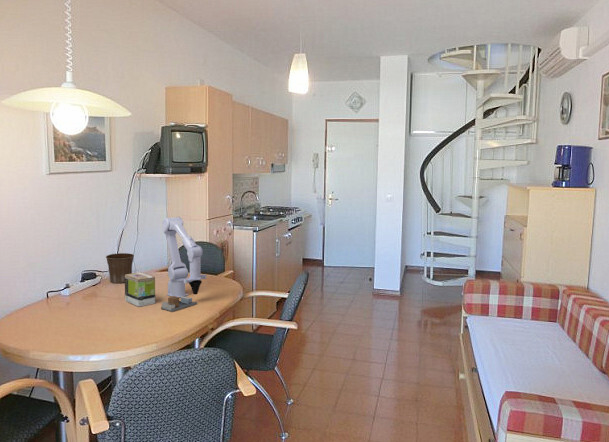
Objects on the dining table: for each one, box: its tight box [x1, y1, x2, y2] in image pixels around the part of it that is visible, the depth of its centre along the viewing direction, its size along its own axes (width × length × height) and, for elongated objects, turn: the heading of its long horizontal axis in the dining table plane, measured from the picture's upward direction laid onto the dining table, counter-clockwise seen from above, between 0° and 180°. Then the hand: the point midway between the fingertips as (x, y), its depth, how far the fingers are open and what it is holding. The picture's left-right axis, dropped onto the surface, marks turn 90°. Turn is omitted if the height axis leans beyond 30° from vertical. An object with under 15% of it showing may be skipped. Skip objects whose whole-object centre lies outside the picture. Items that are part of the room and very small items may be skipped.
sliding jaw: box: [180, 296, 193, 304], centre depth 250 cm, size 6×2×3 cm, turn 56°
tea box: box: [124, 271, 156, 307], centre depth 252 cm, size 15×10×15 cm
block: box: [167, 296, 180, 308], centre depth 243 cm, size 4×4×5 cm
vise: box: [160, 300, 198, 313], centre depth 246 cm, size 8×17×3 cm, turn 146°
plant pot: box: [105, 252, 135, 285], centre depth 293 cm, size 16×16×16 cm
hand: (195, 294), depth 255 cm, fingers closed
